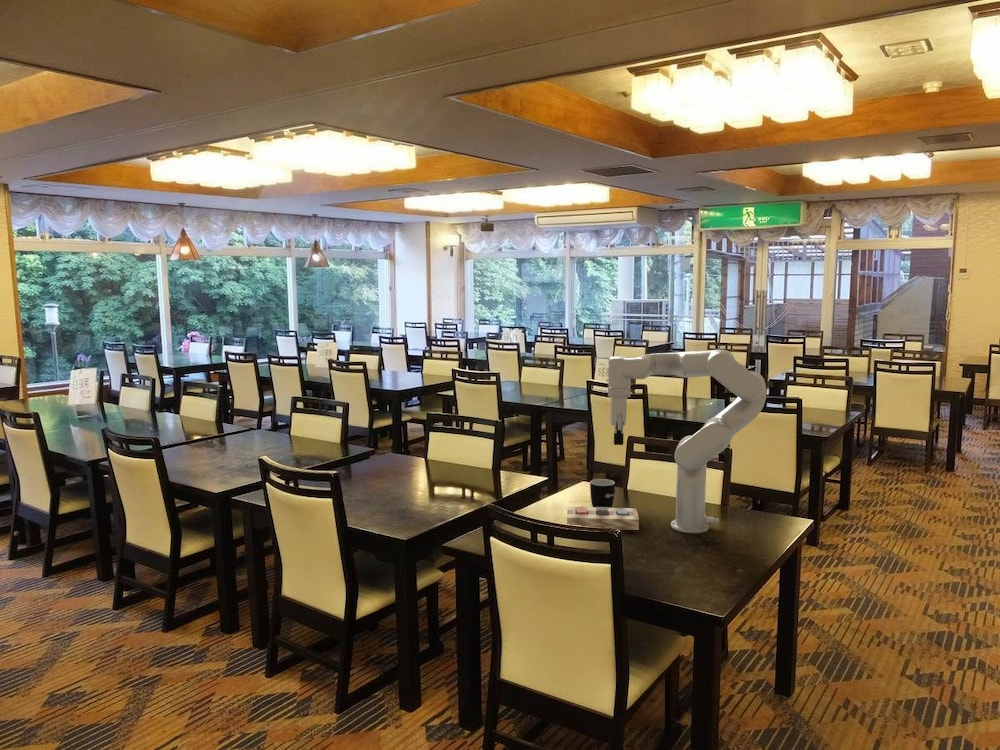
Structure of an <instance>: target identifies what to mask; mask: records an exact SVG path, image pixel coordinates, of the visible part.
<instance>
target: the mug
mask: <svg viewBox="0 0 1000 750" xmlns="http://www.w3.org/2000/svg"><path fill="white" fill-rule="evenodd" d="M589 482H590V483H589V485H590V486H589V487H590V488H589V489H590V490H589V491H590V501H591V505H592V506H591V507H607V508H613V505H614V500H615V495H616V483H615V481H614V480H611V479H607V478H594V479H592V480H591V481H589Z"/></svg>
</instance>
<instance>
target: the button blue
mask: <svg viewBox="0 0 1000 750" xmlns="http://www.w3.org/2000/svg"><path fill="white" fill-rule="evenodd" d="M617 515H624V516H628V510H617Z"/></svg>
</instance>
